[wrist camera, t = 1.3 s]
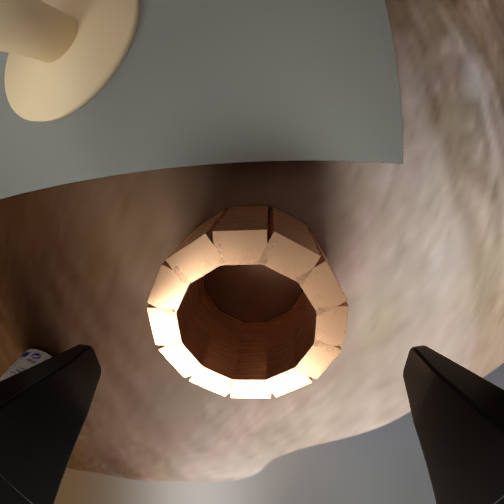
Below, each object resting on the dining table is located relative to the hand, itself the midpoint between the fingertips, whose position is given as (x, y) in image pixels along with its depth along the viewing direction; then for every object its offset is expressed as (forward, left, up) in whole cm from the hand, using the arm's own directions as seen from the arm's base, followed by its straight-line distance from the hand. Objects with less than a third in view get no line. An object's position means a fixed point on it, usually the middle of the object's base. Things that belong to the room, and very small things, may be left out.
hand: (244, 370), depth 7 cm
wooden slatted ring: (0, 0, -6) cm, 6 cm away
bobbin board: (+4, -12, -6) cm, 14 cm away
